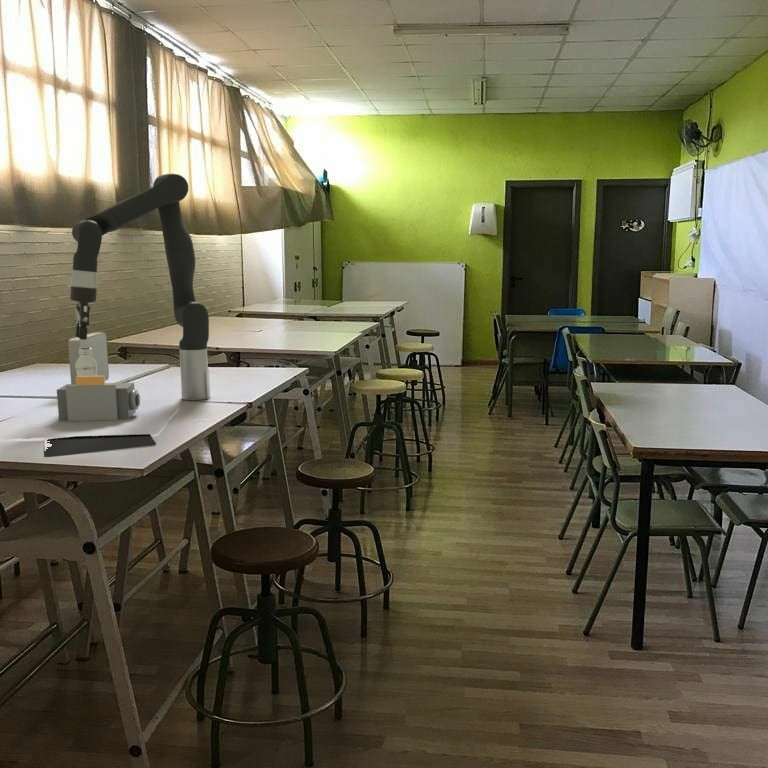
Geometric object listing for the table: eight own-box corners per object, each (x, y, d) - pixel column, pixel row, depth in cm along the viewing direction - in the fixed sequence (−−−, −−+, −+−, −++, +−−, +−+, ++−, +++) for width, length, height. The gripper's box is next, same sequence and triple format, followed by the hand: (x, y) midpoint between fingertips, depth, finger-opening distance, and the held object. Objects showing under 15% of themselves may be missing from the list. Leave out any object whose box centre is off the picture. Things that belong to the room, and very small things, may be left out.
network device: (88, 395, 266) (84, 339, 263) (64, 395, 267) (60, 339, 263) (115, 383, 292) (111, 332, 288) (92, 383, 292) (89, 332, 288)
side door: (118, 419, 224) (115, 375, 222) (117, 419, 223) (114, 376, 221) (69, 420, 223) (65, 376, 221) (68, 421, 222) (64, 377, 219)
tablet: (147, 428, 214) (157, 444, 196) (147, 431, 214) (157, 447, 196) (43, 439, 203) (44, 457, 185) (43, 442, 203) (44, 460, 185)
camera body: (142, 414, 235) (141, 382, 233) (136, 421, 225) (134, 388, 224) (69, 416, 233) (66, 384, 231) (59, 423, 223) (56, 389, 221)
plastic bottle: (93, 412, 237) (89, 349, 234) (74, 412, 239) (69, 349, 235) (104, 408, 243) (100, 347, 240) (86, 408, 245) (81, 346, 241)
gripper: (100, 287, 228) (97, 341, 230) (93, 287, 241) (91, 337, 242) (73, 285, 225) (70, 339, 226) (68, 284, 237) (65, 336, 239)
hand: (81, 338), depth 234 cm, fingers open, 8 cm apart
